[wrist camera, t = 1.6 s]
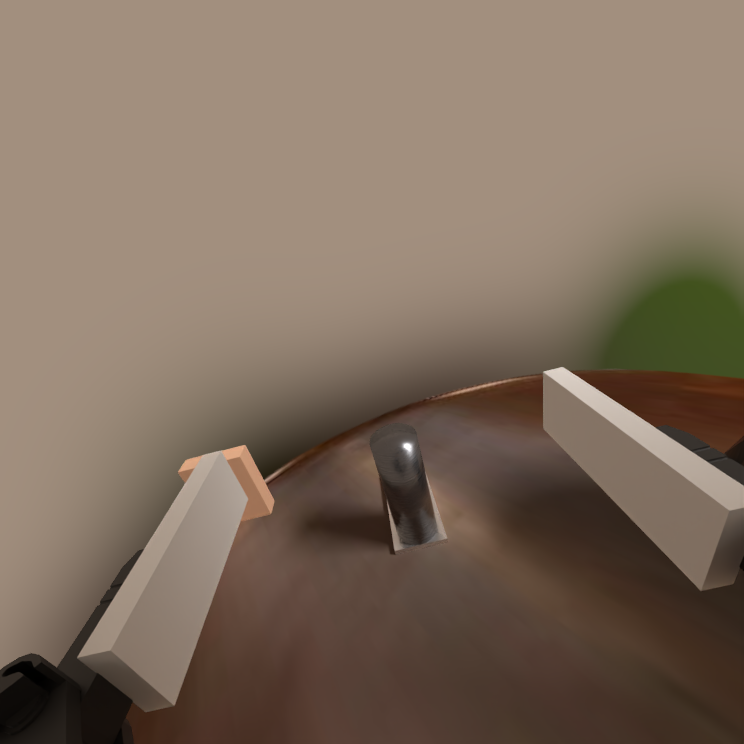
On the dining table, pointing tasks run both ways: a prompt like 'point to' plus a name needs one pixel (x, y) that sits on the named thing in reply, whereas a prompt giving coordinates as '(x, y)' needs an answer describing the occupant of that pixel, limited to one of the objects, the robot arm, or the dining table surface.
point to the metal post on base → (406, 489)
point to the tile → (241, 481)
